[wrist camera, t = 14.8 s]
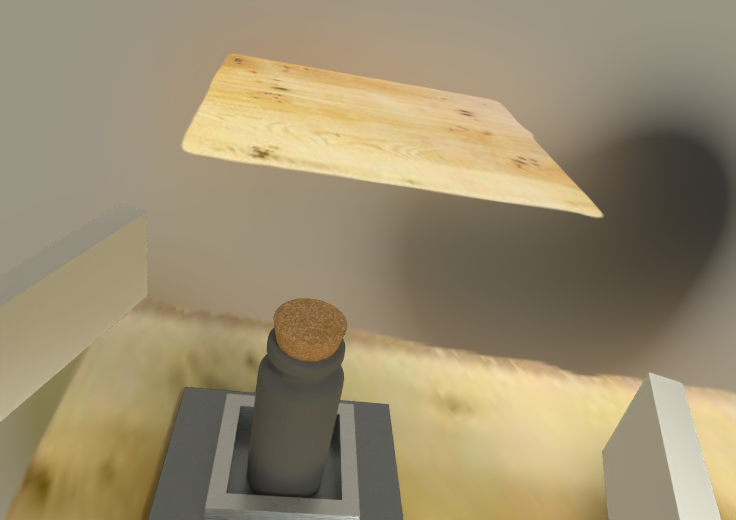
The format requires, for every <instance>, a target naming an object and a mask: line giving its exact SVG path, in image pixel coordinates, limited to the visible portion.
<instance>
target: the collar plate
mask: <svg viewBox="0 0 736 520" xmlns="http://www.w3.org/2000/svg"><path fill="white" fill-rule="evenodd" d="M255 394H256V393H250V392H238V391H226V390H215V389H203V388H191V387H185V390H184V394H183V397H182V401H181V404H180V408H179V411H178V415H177V419H176V422H175V426H174V429H173V433H172V436H171V440H170V443H169V447H168V451H167V454H166V458H165V461H164V465H163V468H162V472H161V475H160V479H159V483H158V486H157V490H156V493H155V497H154V500H153V504H152V508H151V511H150V515H149V518H148V520H403V514H402V506H401V498H400V490H399V482H398V474H397V466H396V459H395V451H394V443H393V435H392V427H391V419H390V411H389V404H378V403H367V402H355V401H343V400H340V402H339V407H338V411H337V416H336V420H335V425H334V429H333V434H332V438H331V442H330V447H329V451H328V456H327V460H326V465H325V469H324V473H323V477H322V480H321V483H320V485H319V487H318V489H317V490H316V492H315V493H314V494H313V495H311V496H310V497H309V498H297V497H280V496H263V495H258V494H257V493H256V492H255V491H254V490H253V488H252V487H251V485H250V483H249V480H248V475H247V466H248V455H249V446H250V437H251V428H252V419H253V411H254V403H255Z"/></svg>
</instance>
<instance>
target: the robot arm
mask: <svg viewBox="0 0 736 520" xmlns="http://www.w3.org/2000/svg"><path fill="white" fill-rule="evenodd" d="M146 222H147V216H146V212H145V211H142V210H139V209H136V208H133V207H130V206H127V205H124V204H120V205H118V206H116V207H115V208H113V209H111V210H110V211H108V212H106V213H105V214H103V215H101V216H99V217H98V218H96V219H94V220H93V221H91V222H89V223H88V224H86V225H84V226H83V227H81V228H79V229H77V230H76V231H74V232H72V233H71V234H69V235H67V236H66V237H64V238H62V239H61V240H59V241H57V242H56V243H54V244H52V245H51V246H49V247H47V248H46V249H44V250H42V251H40V252H39V253H37V254H36V255H34V256H32V257H30V258H29V259H27V260H26V261H24V262H22V263H20V264H19V265H17V266H15V267H14V268H12V269H10V270H8V271H7V272H5V273H3V274H2V275H0V422H1V421H2V420H3V419H4V418H5V417H7V416H8V415H9V414H10V413H11V412H12V411H14V410H15V409H16V408H17V407H18V406H20V405H21V404H22V403H23V402H24V401H25V400H26V399H28V398H29V397H30V396H31V395H32V394H34V393H35V392H36V391H37V390H38V389H39V388H41V387H42V386H43V385H44V384H45V383H46V382H47V381H49V380H50V379H51V378H52V377H53V376H55V374H57V373H58V372H59V371H60V370H61V369H63V368H64V367H65V366H66V365H67V364H69V363H70V362H71V361H72V360H73V359H74V358H76V357H77V356H78V355H79V354H80V353H81V352H83V351H84V350H85V349H86V348H87V347H88V346H90V345H91V344H92V343H93V342H94V341H95V340H97V339H98V338H99V337H100V336H101V335H102V334H104V333H105V332H106V331H107V330H108V329H109V328H111V327H112V326H113V325H114V324H115V323H116V322H118V321H119V320H120V319H121V318H122V317H123V316H125V315H126V314H127V313H128V312H129V311H130V310H132V309H133V308H134V307H135V306H136V305H137V304H139V303H140V302H141V301H142V300H143V299H144V298H146V297H147V296H148V280H147V278H148V277H147V223H146ZM602 454H603V465H604V477H605V488H606V499H607V511H608V520H721V517H720V513H719V510H718V506H717V503H716V499H715V496H714V492H713V489H712V485H711V482H710V478H709V475H708V471H707V468H706V464H705V461H704V457H703V454H702V450H701V447H700V443H699V440H698V436H697V433H696V429H695V425H694V422H693V418H692V415H691V411H690V408H689V404H688V401H687V397H686V394H685V390H684V387H683V384H682V383H681V382H677V381H674V380H671V379H668V378H665V377H662V376H658V375H656V374H652V373H648V374H647V376H646V378H645V379H644V381H643V383H642V385H641V386H640V388H639V390H638V391H637V393H636V395H635V397H634V398H633V400H632V402H631V403H630V405H629V407H628V409H627V410H626V412H625V414H624V415H623V417H622V419H621V420H620V422H619V424H618V426H617V427H616V429H615V431H614V432H613V434H612V436H611V438H610V439H609V441H608V443H607V444H606V446H605V448H604V450H603V451H602Z"/></svg>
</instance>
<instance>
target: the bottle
mask: <svg viewBox="0 0 736 520" xmlns="http://www.w3.org/2000/svg"><path fill="white" fill-rule="evenodd" d="M346 330H347V321H346V319H345V317H344V315H343V314H342V312H340V311H339V310H338V309H337V308H336V307H334V306H332V305H331V304H328V303H326V302H324V301H320V300H316V299H295V300H291V301H288V302H286V303H284V304H283V305H281V306H280V307H279V308H278V309H277V310H276V312H275V314H274V328H273V329H272V330H271V332H270V334H269V336H268V341H267V354H266V356H265V357H264V358H263V359H262V361H261V364H260V367H259V371H258V378H257V386H256V394H255V403H254V411H253V419H252V428H251V437H250V446H249V455H248V466H247V475H248V480H249V483H250V485H251V487H252V488H253V490H254V491H255V492H256V493H257V494H258V495H263V496H280V497H297V498H309V497H310V496H311V495H313V494H314V493H315V492H316V490H317V489H318V487H319V485H320V483H321V480H322V477H323V473H324V469H325V465H326V460H327V456H328V451H329V447H330V442H331V438H332V434H333V429H334V425H335V420H336V416H337V411H338V407H339V402H340V397H341V393H342V388H343V381H344V373H343V369H342V367H341V363H342V361H343V358H344V353H345V343H344V340H343V337H344V335H345V333H346Z"/></svg>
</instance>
